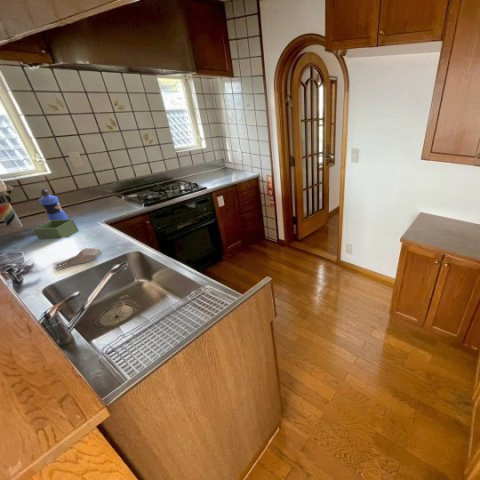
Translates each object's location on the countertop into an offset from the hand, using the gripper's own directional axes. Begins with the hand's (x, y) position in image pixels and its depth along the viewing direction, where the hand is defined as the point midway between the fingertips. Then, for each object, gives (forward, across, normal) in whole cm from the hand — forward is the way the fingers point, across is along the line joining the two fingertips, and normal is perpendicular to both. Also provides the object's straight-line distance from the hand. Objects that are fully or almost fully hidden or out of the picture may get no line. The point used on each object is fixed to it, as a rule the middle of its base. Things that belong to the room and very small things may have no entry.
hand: (1, 203), depth 146 cm
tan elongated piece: (+27, -14, +48) cm, 57 cm away
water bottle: (+28, -22, -27) cm, 44 cm away
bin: (+27, -16, -1) cm, 31 cm away
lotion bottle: (+15, 0, 0) cm, 15 cm away
